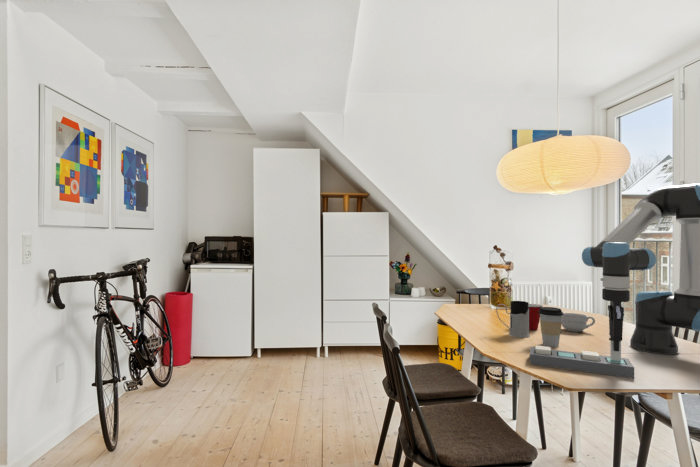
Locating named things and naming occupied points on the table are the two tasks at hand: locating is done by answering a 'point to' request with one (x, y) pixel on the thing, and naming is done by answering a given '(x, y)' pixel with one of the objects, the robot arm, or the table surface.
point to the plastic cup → (534, 316)
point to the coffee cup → (550, 325)
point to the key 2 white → (590, 355)
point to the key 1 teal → (615, 361)
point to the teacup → (575, 322)
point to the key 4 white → (543, 350)
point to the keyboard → (582, 363)
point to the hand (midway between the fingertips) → (615, 359)
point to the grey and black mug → (518, 319)
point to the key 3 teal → (566, 355)
